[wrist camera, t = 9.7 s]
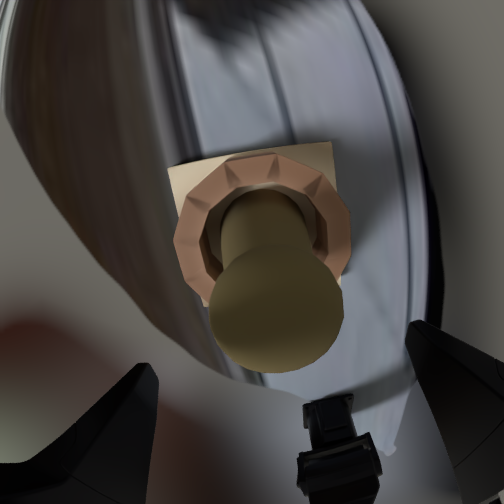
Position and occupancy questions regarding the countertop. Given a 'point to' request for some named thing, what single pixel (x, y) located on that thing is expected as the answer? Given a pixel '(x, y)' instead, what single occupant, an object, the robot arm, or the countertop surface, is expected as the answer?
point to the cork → (272, 287)
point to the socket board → (248, 179)
